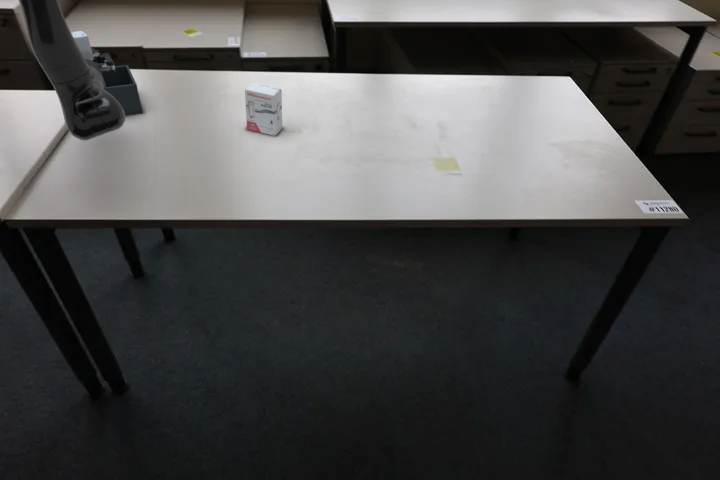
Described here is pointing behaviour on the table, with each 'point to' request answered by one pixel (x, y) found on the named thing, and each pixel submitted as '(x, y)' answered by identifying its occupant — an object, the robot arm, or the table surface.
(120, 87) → the bin
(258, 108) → the ink box
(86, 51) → the cosmetic box
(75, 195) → the table surface
